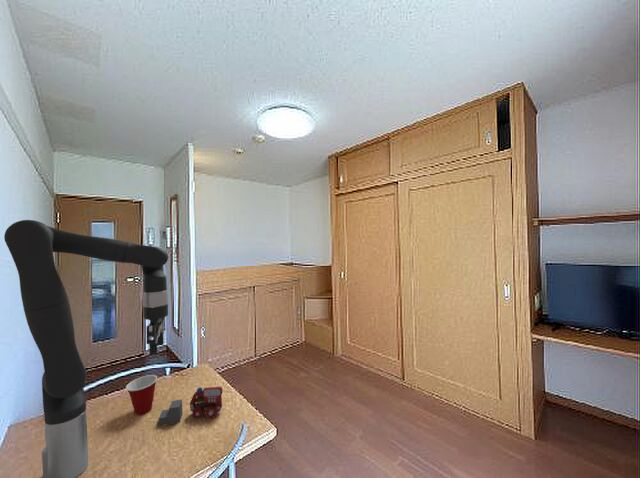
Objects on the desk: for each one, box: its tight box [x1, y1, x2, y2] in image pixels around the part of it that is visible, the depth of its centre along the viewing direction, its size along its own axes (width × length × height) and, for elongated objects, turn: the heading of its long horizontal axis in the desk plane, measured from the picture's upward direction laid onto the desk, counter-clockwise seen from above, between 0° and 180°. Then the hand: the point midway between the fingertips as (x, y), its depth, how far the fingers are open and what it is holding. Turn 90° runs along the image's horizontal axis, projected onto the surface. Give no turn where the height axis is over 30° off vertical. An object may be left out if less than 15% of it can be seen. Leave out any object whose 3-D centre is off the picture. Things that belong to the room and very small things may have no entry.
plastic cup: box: [125, 374, 158, 416], centre depth 114 cm, size 11×11×12 cm
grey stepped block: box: [158, 399, 183, 427], centre depth 108 cm, size 7×5×6 cm
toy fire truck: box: [189, 386, 223, 420], centre depth 111 cm, size 7×12×10 cm, turn 90°
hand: (156, 349), depth 100 cm, fingers open, 8 cm apart
